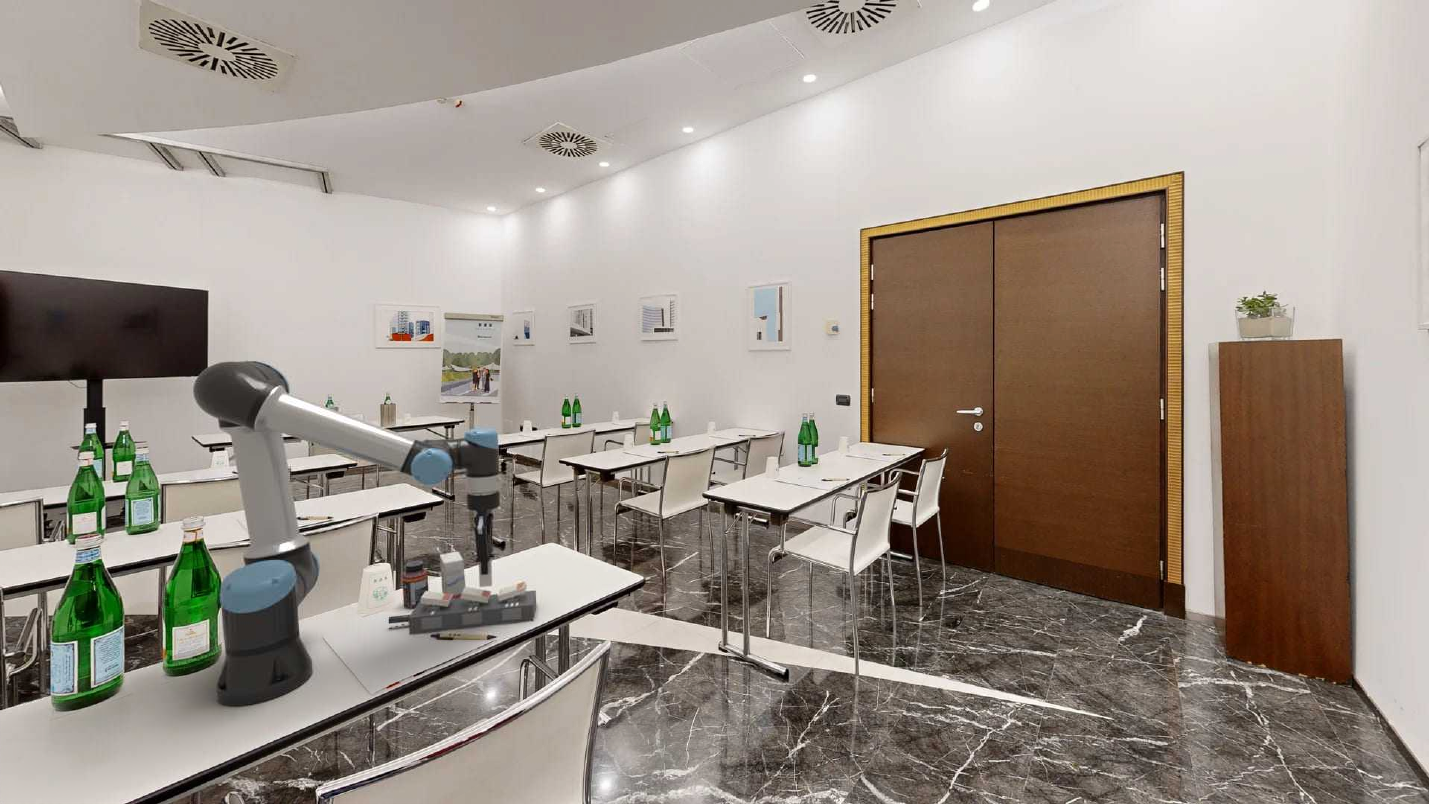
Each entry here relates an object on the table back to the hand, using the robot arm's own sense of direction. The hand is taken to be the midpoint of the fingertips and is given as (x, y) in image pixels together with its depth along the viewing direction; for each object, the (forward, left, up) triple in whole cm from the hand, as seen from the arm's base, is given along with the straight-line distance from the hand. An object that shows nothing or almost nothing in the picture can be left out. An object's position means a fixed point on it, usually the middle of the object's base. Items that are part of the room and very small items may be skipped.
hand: (485, 585), depth 142 cm
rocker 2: (-3, 0, -3) cm, 4 cm away
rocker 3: (+6, 0, -3) cm, 7 cm away
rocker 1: (-12, 0, -3) cm, 12 cm away
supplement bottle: (-20, +13, -9) cm, 25 cm away
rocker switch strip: (-5, 0, -8) cm, 10 cm away
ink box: (-11, +14, -9) cm, 20 cm away
